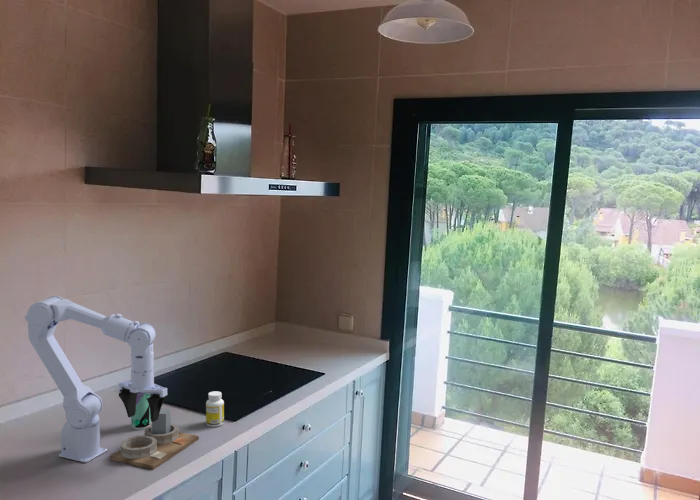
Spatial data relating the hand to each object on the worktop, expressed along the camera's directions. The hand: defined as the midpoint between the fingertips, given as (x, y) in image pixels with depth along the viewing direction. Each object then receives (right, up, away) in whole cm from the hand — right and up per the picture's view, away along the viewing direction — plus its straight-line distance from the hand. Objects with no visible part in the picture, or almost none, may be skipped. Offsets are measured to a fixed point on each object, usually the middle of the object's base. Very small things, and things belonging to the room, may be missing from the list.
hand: (143, 418), depth 158 cm
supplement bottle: (+14, -9, +23) cm, 29 cm away
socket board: (+2, -10, +5) cm, 11 cm away
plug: (+2, -8, +10) cm, 13 cm away
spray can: (-8, -8, +20) cm, 23 cm away
